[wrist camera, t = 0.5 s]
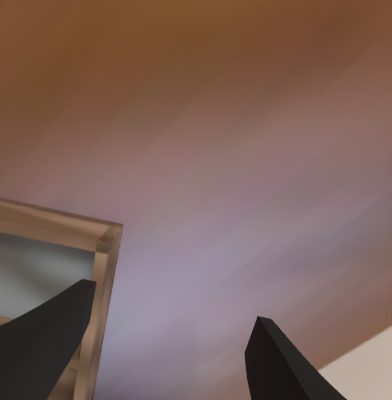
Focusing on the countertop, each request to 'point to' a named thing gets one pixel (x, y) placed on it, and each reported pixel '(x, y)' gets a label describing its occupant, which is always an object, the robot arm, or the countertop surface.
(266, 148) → the countertop surface
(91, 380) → the bin
